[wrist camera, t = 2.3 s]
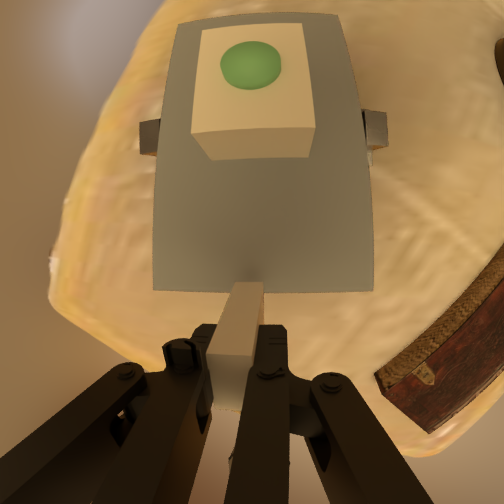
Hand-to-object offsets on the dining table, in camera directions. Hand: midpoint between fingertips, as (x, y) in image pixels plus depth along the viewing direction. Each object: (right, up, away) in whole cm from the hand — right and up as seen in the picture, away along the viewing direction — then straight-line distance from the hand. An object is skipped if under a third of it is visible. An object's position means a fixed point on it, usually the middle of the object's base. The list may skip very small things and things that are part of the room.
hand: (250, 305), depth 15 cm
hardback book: (+34, -11, +17) cm, 39 cm away
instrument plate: (+1, +13, +6) cm, 14 cm away
